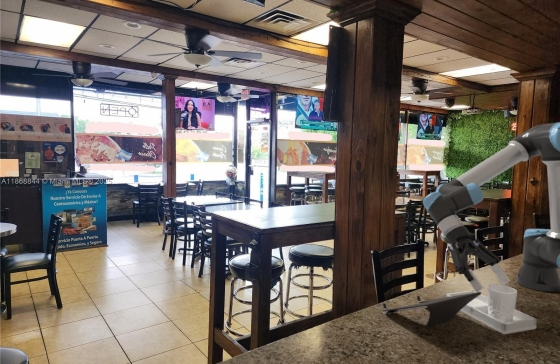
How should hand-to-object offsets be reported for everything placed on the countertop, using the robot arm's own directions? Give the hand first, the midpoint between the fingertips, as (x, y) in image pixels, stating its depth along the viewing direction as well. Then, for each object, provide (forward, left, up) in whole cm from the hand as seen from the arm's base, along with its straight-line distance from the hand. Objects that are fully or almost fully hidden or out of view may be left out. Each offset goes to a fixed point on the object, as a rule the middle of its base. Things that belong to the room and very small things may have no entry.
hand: (493, 286), depth 116 cm
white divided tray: (-1, -3, -11) cm, 11 cm away
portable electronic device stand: (+21, -6, -11) cm, 24 cm away
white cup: (0, +3, -10) cm, 10 cm away
